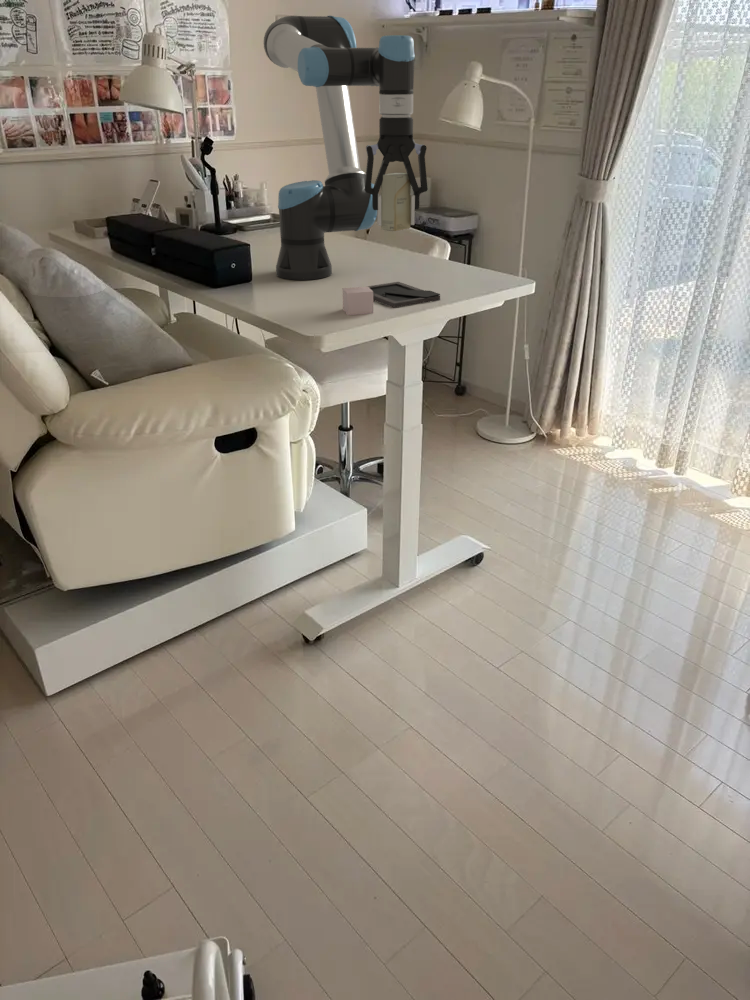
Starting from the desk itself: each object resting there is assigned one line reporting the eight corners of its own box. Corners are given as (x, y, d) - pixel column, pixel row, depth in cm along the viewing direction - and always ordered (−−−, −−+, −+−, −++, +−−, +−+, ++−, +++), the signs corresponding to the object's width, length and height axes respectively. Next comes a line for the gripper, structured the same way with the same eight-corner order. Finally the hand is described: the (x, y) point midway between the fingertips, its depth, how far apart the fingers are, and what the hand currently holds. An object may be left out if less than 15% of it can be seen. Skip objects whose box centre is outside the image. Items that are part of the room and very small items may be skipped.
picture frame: (439, 302, 190) (398, 287, 204) (440, 294, 189) (398, 279, 203) (394, 310, 184) (354, 294, 197) (394, 301, 183) (354, 286, 196)
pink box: (347, 315, 179) (347, 293, 176) (342, 309, 183) (342, 288, 180) (373, 313, 180) (373, 291, 178) (367, 308, 184) (367, 286, 182)
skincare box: (395, 232, 183) (395, 175, 177) (380, 230, 185) (380, 174, 179) (411, 228, 187) (411, 173, 181) (395, 226, 189) (396, 171, 184)
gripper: (352, 117, 171) (354, 228, 181) (443, 116, 172) (440, 226, 183) (350, 115, 177) (352, 222, 188) (438, 114, 179) (435, 220, 190)
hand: (395, 224), depth 186 cm, fingers closed on skincare box, 7 cm apart
